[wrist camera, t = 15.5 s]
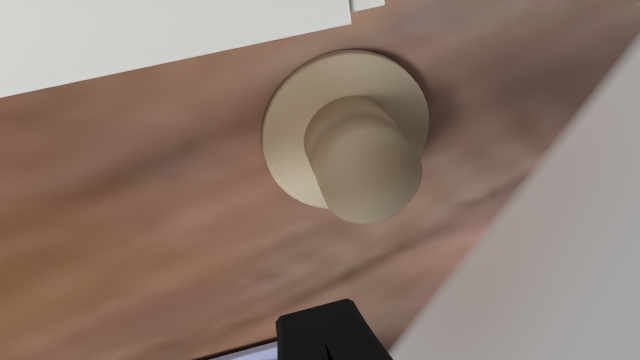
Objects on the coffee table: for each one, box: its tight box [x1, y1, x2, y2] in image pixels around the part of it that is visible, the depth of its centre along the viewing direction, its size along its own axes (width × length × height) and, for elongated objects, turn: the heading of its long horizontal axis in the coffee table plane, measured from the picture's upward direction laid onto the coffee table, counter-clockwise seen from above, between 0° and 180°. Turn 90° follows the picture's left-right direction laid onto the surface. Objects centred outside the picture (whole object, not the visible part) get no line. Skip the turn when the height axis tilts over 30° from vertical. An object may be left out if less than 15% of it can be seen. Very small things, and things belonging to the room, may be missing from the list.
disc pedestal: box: [261, 49, 429, 224], centre depth 18 cm, size 6×6×4 cm
